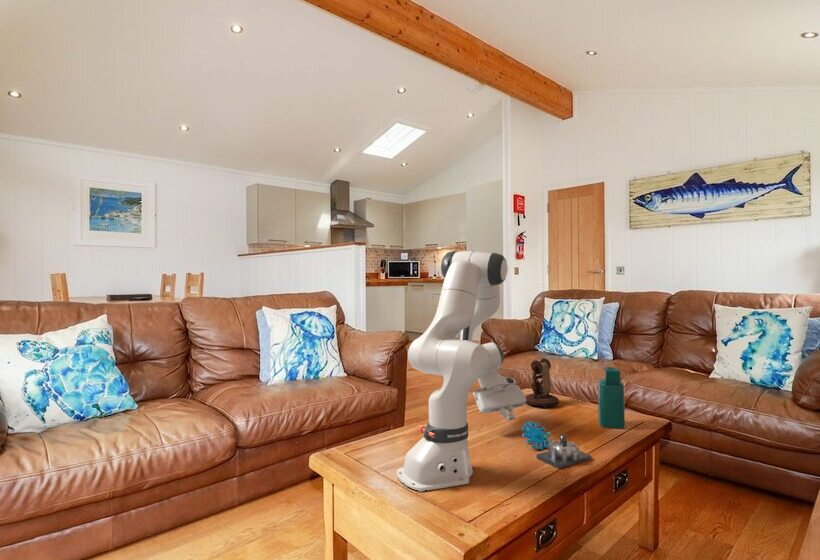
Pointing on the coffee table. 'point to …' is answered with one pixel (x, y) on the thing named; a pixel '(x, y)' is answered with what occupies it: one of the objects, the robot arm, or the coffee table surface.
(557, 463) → the grey metal fixture
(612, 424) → the green bottle
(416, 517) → the coffee table surface
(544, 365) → the dark brown figurine
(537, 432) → the gear
